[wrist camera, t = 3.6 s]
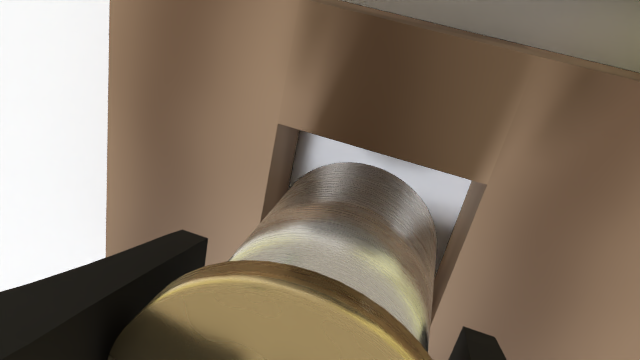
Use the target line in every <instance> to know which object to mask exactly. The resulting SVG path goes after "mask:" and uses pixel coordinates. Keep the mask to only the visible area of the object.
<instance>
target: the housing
mask: <svg viewBox="0 0 640 360" xmlns="http://www.w3.org/2000/svg"><path fill="white" fill-rule="evenodd" d="M300 130H302V131H305V132H309V133H312V134H315V135H319V136H322V137H326V138H329V139H333V140H336V141H339V142H343V143H346V144H350V145H353V146H356V147H360V148H363V149H367V150H370V151H373V152H377V153H380V154H384V155H387V156H391V157H394V158H397V159H401V160H404V161H408V162H411V163H414V164H418V165H421V166H425V167H428V168H431V169H435V170H438V171H442V172H445V173H449V174H452V175H455V176H459V177H462V178H466V179H469V180H472V182H471V184H470V187H469V190H468V192H467V195H466V198H465V200H464V203H463V205H462V208H461V211H460V213H459V216H458V218H457V221H456V224H455V226H454V229H453V232H452V234H451V237H450V239H449V242H448V245H447V247H446V250H445V252H444V255H443V258H442V260H441V263H440V266H439V268H438V271H437V273H436V276H435V279H434V287H433V299H432V311H431V324H430V336H429V348H428V354H429V355H430V357H431V358H432V360H448V359H449V357H450V355H451V353H452V350H453V348H454V346H455V343H456V341H457V339H458V337H459V334H460V332H461V330H462V327H463V326H464V327H467V328H470V329H473V330H476V331H479V332H482V333H485V334H488V335H491V336H493V337H495V338H496V340H497V342H498V344H499V346H500V348H501V349H502V351H503V353H504V355H505V357H506V359H507V360H640V73H638V72H633V71H629V70H625V69H621V68H617V67H613V66H609V65H604V64H600V63H596V62H592V61H588V60H584V59H580V58H576V57H571V56H567V55H563V54H559V53H555V52H551V51H547V50H543V49H538V48H534V47H530V46H526V45H522V44H518V43H514V42H509V41H505V40H501V39H497V38H493V37H489V36H485V35H481V34H476V33H472V32H468V31H464V30H460V29H456V28H452V27H448V26H443V25H439V24H435V23H431V22H427V21H423V20H419V19H415V18H410V17H406V16H402V15H398V14H394V13H390V12H386V11H381V10H377V9H373V8H369V7H365V6H361V5H357V4H353V3H348V2H344V1H340V0H110V17H109V81H108V146H107V210H106V257H109V256H112V255H114V254H117V253H120V252H122V251H125V250H128V249H130V248H133V247H136V246H138V245H141V244H143V243H146V242H149V241H151V240H154V239H156V238H159V237H162V236H164V235H167V234H170V233H173V232H176V231H179V230H182V229H183V230H186V231H189V232H191V233H194V234H197V235H200V236H203V237H206V238H208V244H207V252H206V260H205V266H207V265H212V264H216V263H221V262H227V261H228V260H229V259H230V258H231V257H232V256H233V254H234V253H235V252H236V251H237V250H238V249H239V247H240V246H241V245H242V244H243V243H244V241H245V240H246V239H247V238H248V237H249V236H250V234H251V233H252V232H253V231H254V230H255V229H256V227H257V226H258V225H259V224H260V223H261V222H262V220H263V219H264V218H265V217H266V216H267V215H268V213H269V212H270V211H271V210H272V209H273V208H274V206H275V205H276V204H277V203H278V202H279V201H280V199H281V198H282V197H283V196H284V195H285V193H286V192H287V191H288V187H289V182H290V176H291V171H292V166H293V161H294V156H295V151H296V146H297V141H298V136H299V131H300Z"/></svg>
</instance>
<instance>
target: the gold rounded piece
mask: <svg viewBox="0 0 640 360" xmlns="http://www.w3.org/2000/svg"><path fill="white" fill-rule="evenodd" d="M436 251H437V236H436V231H435V226H434V223H433V220H432V217H431V215H430V213H429V211H428V209H427V207H426V205H425V204H424V202H423V201H422V199H421V198H420V197H419V196H418V195H417V193H416V192H415V191H414V190H413V189H412V188H411V187H410V186H408V185H407V184H406V183H405V182H404V181H402V180H401V179H399V178H398V177H396V176H395V175H393V174H391V173H389V172H387V171H385V170H383V169H380V168H377V167H374V166H371V165H366V164H362V163H352V162H346V163H334V164H329V165H325V166H322V167H319V168H317V169H314V170H312V171H310V172H308V173H307V174H305V175H304V176H302V177H301V178H300V179H299V180H297V181H296V182H295V183H294V184H293V185H292V187H291V188H290V189H289V190H288V191H287V192H286V193H285V195H284V196H283V197H282V198H281V199H280V201H279V202H278V203H277V204H276V205H275V206H274V208H273V209H272V210H271V211H270V212H269V213H268V215H267V216H266V217H265V218H264V219H263V220H262V222H261V223H260V224H259V225H258V226H257V227H256V229H255V230H254V231H253V232H252V233H251V234H250V236H249V237H248V238H247V239H246V240H245V241H244V243H243V244H242V245H241V246H240V247H239V249H238V250H237V251H236V252H235V253H234V254H233V256H232V257H231V258H230V259H229V260H228V261H227V262H221V263H216V264H212V265H207V266H203V267H201V268H198V269H196V270H193V271H191V272H188V273H186V274H184V275H183V276H181V277H179V278H178V279H176V280H174V281H173V282H171V283H170V284H169V285H168V286H166V287H165V288H164V289H163V290H162V291H161V292H160V293H159V294H158V295H157V296H156V297H155V298H154V299H153V300H152V301H151V302H150V303H149V304H148V305H147V306H146V307H145V308H144V309H143V310H142V311H141V312H140V313H139V314H138V315H137V316H136V317H135V318H134V319H133V320H132V321H131V322H130V323H129V324H128V325H127V326H126V327H125V328H124V330H123V331H122V332H121V334H120V335H119V336H118V337H117V339H116V341H115V343H114V345H113V347H112V349H111V351H110V353H109V357H108V360H432V358H431V357H430V355H429V354H428V348H429V336H430V324H431V311H432V299H433V287H434V275H435V263H436Z"/></svg>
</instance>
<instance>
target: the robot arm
mask: <svg viewBox="0 0 640 360" xmlns="http://www.w3.org/2000/svg"><path fill="white" fill-rule="evenodd" d="M207 244H208V238H206V237H203V236H200V235H197V234H194V233H191V232H189V231H186V230H183V229H182V230H179V231H176V232H173V233H170V234H167V235H164V236H162V237H159V238H156V239H154V240H151V241H149V242H146V243H143V244H141V245H138V246H136V247H133V248H130V249H128V250H125V251H122V252H120V253H117V254H114V255H112V256H109V257H106V258H104V259H101V260H98V261H95V262H93V263H90V264H87V265H84V266H81V267H78V268H75V269H72V270H69V271H66V272H63V273H60V274H57V275H54V276H51V277H48V278H45V279H42V280H39V281H36V282H33V283H30V284H26V285H23V286H19V287H16V288H13V289H9V290H5V291H2V292H0V360H108V357H109V353H110V351H111V349H112V347H113V345H114V343H115V341H116V339H117V337H118V336H119V335H120V334H121V332H122V331H123V330H124V328H125V327H126V326H127V325H128V324H129V323H130V322H131V321H132V320H133V319H134V318H135V317H136V316H137V315H138V314H139V313H140V312H141V311H142V310H143V309H144V308H145V307H146V306H147V305H148V304H149V303H150V302H151V301H152V300H153V299H154V298H155V297H156V296H157V295H158V294H159V293H160V292H161V291H162V290H163V289H164V288H165V287H166V286H168V285H169V284H170V283H171V282H173V281H174V280H176V279H178V278H179V277H181V276H183V275H184V274H186V273H188V272H191V271H193V270H196V269H198V268H201V267H203V266H205V260H206V252H207ZM448 360H507V359H506V357H505V355H504V353H503V351H502V349H501V348H500V346H499V344H498V342H497V340H496V338H495V337H493V336H491V335H488V334H485V333H482V332H479V331H476V330H473V329H470V328H467V327H464V326H463V327H462V330H461V332H460V334H459V337H458V339H457V341H456V343H455V346H454V348H453V350H452V353H451V355H450V357H449V359H448Z"/></svg>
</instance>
